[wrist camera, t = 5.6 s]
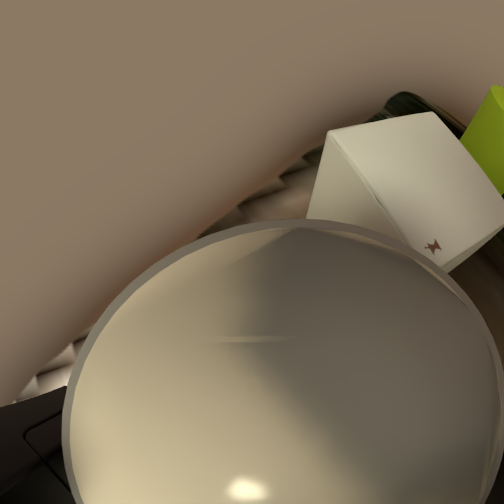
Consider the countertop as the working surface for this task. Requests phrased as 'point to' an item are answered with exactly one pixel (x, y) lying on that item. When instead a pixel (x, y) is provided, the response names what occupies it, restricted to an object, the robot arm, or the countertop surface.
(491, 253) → the countertop surface
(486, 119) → the soap dispenser
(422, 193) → the supplement box
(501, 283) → the countertop surface
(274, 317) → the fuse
